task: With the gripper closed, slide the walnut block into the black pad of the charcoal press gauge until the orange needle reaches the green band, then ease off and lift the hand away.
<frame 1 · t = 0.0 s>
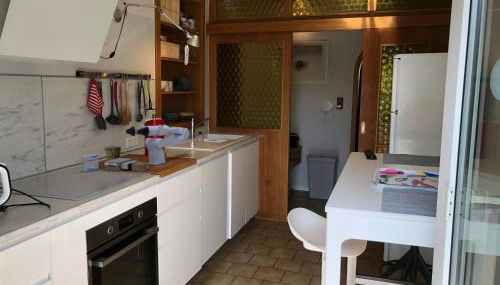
hand: (131, 131, 237), 22 cm above the countertop, tool horizontal, fingers open, 7 cm apart
gauge housing: (119, 168, 246), on the countertop
medicine box: (90, 170, 242), on the countertop
ceramic cup: (114, 163, 263), on the countertop
walnut block: (140, 170, 240), on the countertop
gauge plunger: (126, 164, 242), point 3 cm above the countertop, slide at 0.0 cm
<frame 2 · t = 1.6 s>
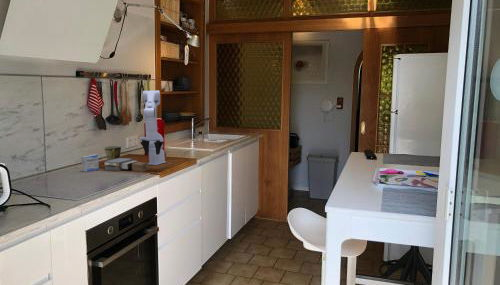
hand: (152, 154, 235), 9 cm above the countertop, tool pointing down, fingers open, 7 cm apart
nothing on the countertop moved.
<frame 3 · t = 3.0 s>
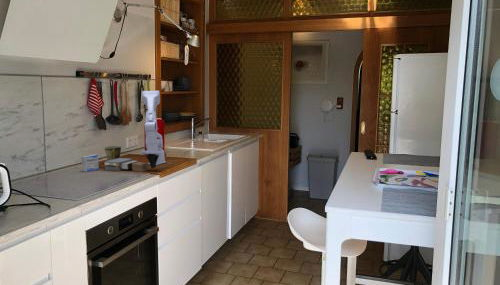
hand: (153, 167, 236), 2 cm above the countertop, tool pointing down, fingers closed
nothing on the countertop moved.
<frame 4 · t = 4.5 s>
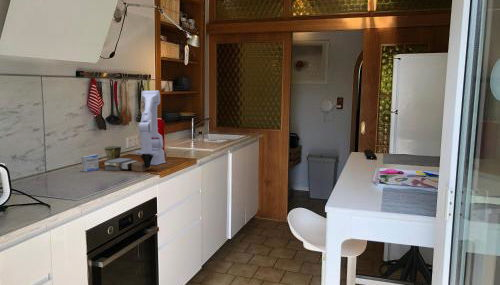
hand: (147, 167, 237), 2 cm above the countertop, tool pointing down, fingers closed
nothing on the countertop moved.
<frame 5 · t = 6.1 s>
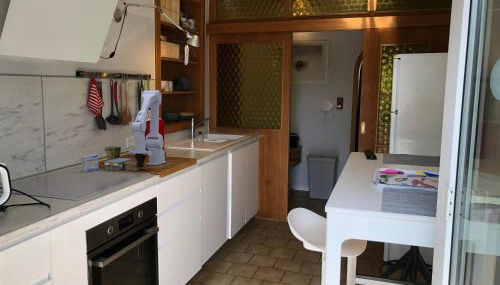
hand: (141, 167, 239), 2 cm above the countertop, tool pointing down, fingers closed
walnut block: (133, 169, 241), on the countertop, touching gauge plunger, gripper
gauge plunger: (120, 164, 244), point 3 cm above the countertop, slide at 3.8 cm, touching walnut block
everything else where it was.
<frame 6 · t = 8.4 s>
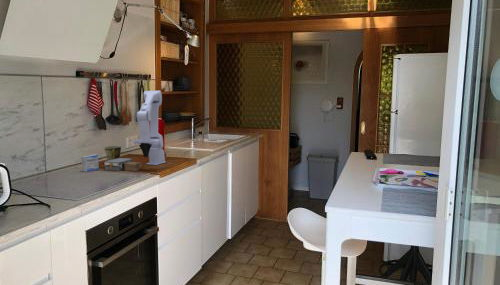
hand: (146, 156, 237), 8 cm above the countertop, tool pointing down, fingers closed
walnut block: (133, 169, 241), on the countertop
gauge plunger: (120, 164, 244), point 3 cm above the countertop, slide at 4.0 cm
everything else where it was.
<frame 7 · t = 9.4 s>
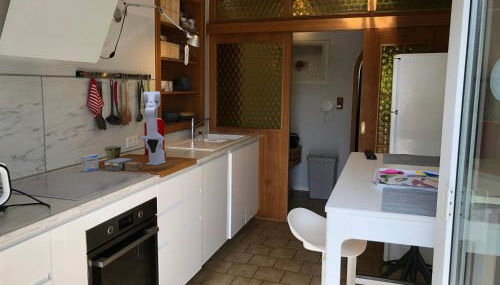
hand: (153, 152, 239), 9 cm above the countertop, tool pointing down, fingers closed
nothing on the countertop moved.
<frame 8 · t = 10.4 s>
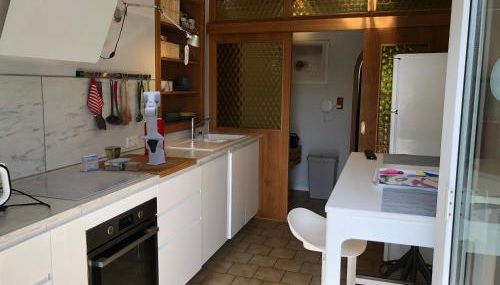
hand: (153, 152, 239), 9 cm above the countertop, tool pointing down, fingers closed
nothing on the countertop moved.
at the end: gauge plunger slide at 4.0 cm; walnut block tilted 0°; walnut block 0.4 cm from the target spot, on the countertop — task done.
